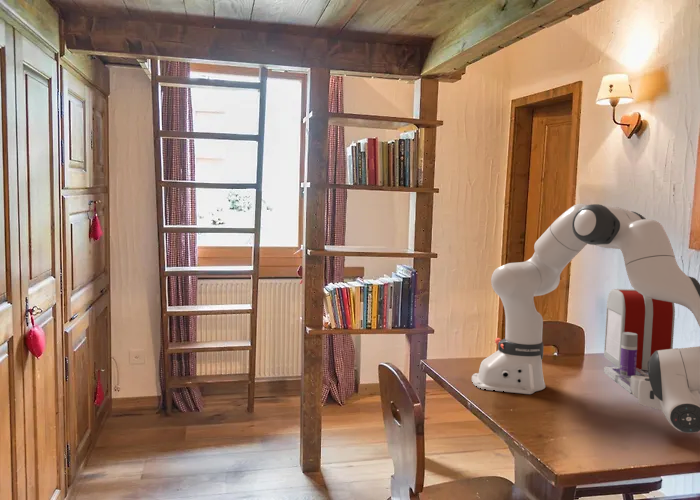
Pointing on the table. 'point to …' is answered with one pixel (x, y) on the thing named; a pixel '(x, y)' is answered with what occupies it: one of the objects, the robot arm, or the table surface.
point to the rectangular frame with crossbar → (622, 376)
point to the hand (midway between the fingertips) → (671, 381)
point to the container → (628, 354)
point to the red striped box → (638, 325)
